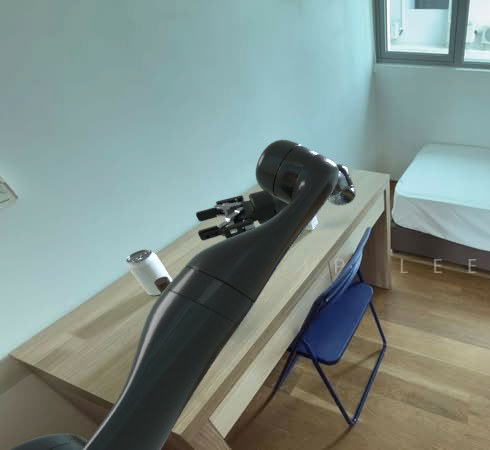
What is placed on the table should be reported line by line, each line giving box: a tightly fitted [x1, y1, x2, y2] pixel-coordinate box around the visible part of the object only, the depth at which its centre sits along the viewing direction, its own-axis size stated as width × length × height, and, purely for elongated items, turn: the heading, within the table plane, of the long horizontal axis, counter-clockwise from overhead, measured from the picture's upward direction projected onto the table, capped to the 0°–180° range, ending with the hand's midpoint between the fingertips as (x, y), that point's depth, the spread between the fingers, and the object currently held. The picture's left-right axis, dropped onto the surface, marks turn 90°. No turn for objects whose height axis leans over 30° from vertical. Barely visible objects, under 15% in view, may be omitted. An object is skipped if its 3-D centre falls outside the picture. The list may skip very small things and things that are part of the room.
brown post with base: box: [154, 277, 171, 295], centre depth 72 cm, size 5×5×15 cm
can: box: [126, 248, 173, 296], centre depth 85 cm, size 6×6×12 cm
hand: (198, 226), depth 66 cm, fingers open, 8 cm apart
